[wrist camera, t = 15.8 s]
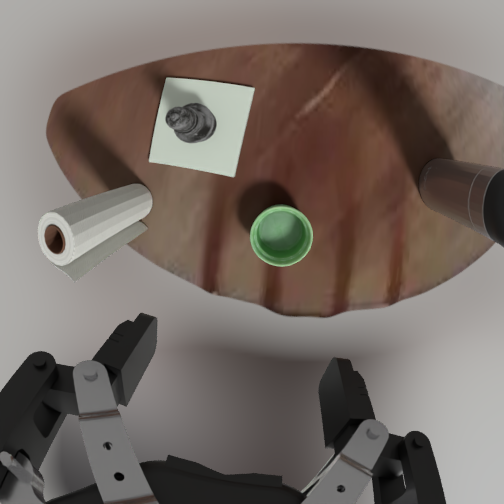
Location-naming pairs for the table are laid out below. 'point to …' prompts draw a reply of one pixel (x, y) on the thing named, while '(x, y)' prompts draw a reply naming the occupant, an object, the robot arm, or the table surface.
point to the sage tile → (224, 138)
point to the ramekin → (281, 235)
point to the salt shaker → (191, 122)
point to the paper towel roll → (93, 228)
